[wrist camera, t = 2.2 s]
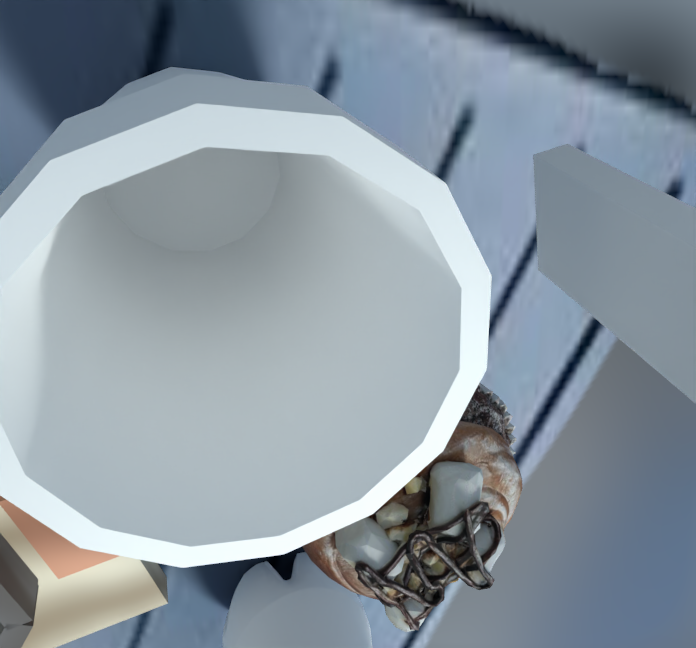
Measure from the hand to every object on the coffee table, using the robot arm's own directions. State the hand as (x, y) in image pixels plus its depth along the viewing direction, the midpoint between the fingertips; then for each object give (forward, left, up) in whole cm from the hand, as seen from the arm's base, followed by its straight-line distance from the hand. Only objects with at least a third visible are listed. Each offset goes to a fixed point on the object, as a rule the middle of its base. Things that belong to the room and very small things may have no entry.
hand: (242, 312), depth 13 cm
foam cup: (0, 0, -11) cm, 11 cm away
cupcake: (-13, -4, -11) cm, 18 cm away
